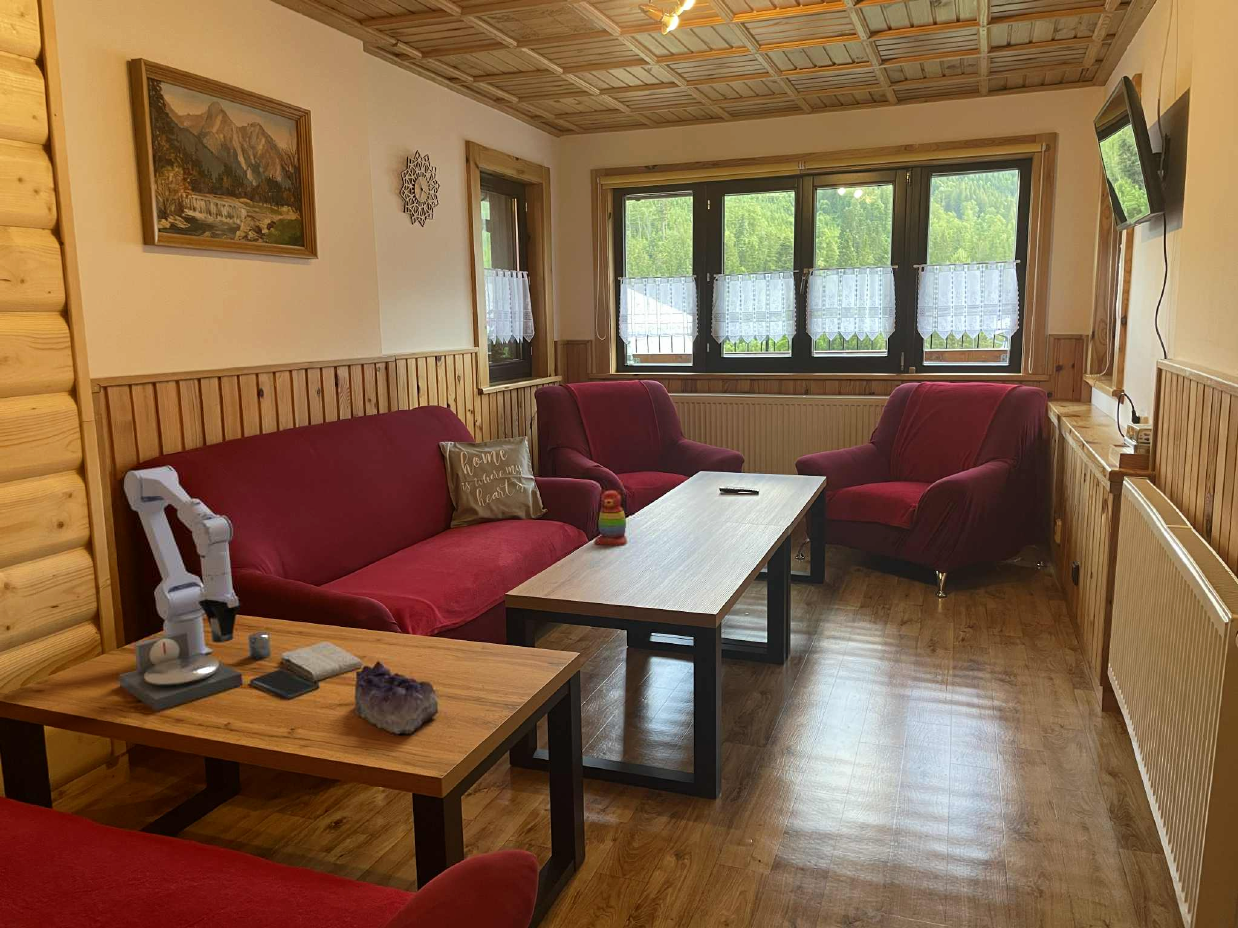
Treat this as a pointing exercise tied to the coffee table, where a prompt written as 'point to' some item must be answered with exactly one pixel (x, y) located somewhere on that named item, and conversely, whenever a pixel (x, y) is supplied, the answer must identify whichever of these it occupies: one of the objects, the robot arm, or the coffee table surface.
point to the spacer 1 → (218, 632)
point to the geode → (393, 700)
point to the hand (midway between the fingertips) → (222, 632)
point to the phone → (284, 684)
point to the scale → (173, 695)
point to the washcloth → (320, 661)
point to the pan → (181, 671)
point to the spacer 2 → (259, 645)
